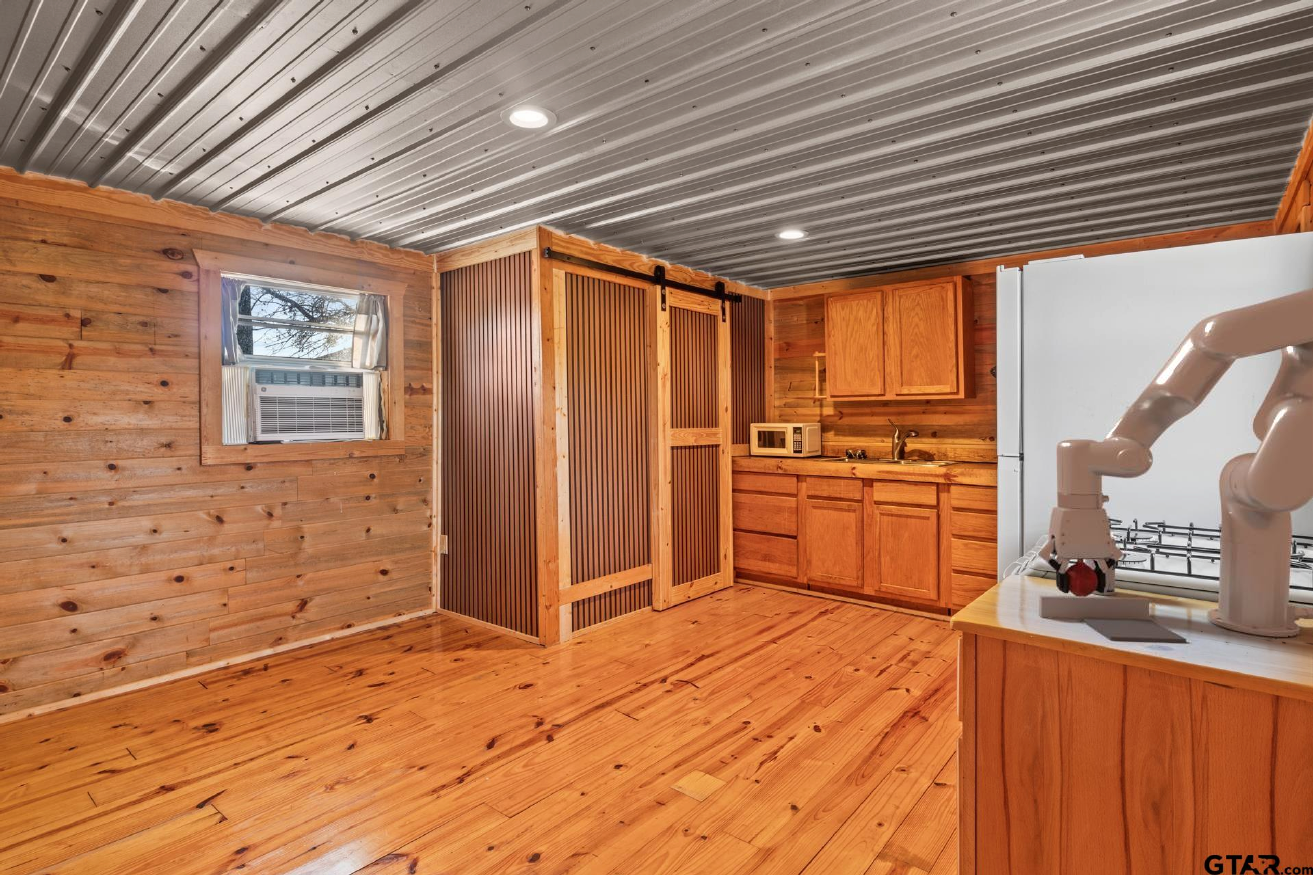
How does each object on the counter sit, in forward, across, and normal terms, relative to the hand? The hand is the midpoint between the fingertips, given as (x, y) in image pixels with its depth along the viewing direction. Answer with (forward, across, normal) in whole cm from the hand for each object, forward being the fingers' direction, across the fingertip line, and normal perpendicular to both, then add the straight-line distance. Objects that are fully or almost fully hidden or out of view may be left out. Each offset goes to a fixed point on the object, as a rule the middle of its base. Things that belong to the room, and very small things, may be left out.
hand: (1080, 590), depth 134 cm
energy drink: (+4, -9, -11) cm, 15 cm away
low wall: (+3, +1, +7) cm, 8 cm away
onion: (+2, 0, 0) cm, 2 cm away
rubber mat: (+4, -2, +14) cm, 14 cm away
